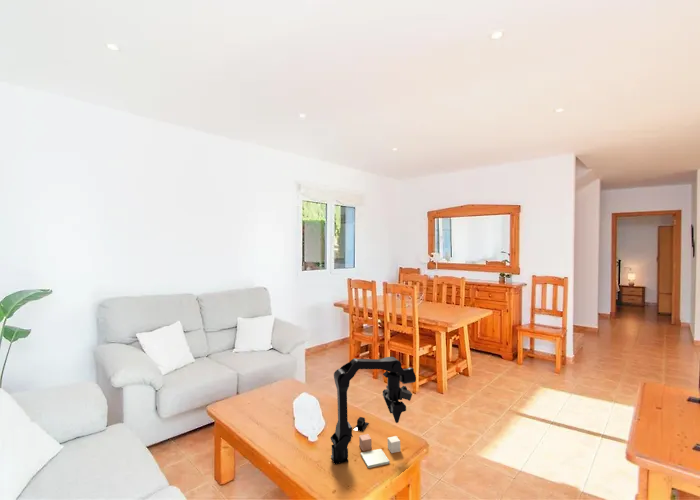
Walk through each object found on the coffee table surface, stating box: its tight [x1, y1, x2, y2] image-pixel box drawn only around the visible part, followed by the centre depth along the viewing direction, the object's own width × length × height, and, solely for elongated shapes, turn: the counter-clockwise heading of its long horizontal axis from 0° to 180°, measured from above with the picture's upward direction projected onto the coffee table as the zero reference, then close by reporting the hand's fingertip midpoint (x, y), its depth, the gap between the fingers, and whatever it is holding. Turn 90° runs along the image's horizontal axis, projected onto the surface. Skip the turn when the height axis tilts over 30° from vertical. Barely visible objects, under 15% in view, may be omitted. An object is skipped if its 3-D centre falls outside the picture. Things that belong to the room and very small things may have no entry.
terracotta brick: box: [358, 433, 373, 452], centre depth 172 cm, size 4×4×5 cm
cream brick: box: [387, 435, 401, 454], centre depth 170 cm, size 4×4×5 cm
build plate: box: [360, 448, 391, 469], centre depth 163 cm, size 10×10×1 cm
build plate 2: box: [352, 416, 370, 432], centre depth 192 cm, size 12×7×5 cm, turn 156°
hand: (394, 417), depth 171 cm, fingers open, 9 cm apart
